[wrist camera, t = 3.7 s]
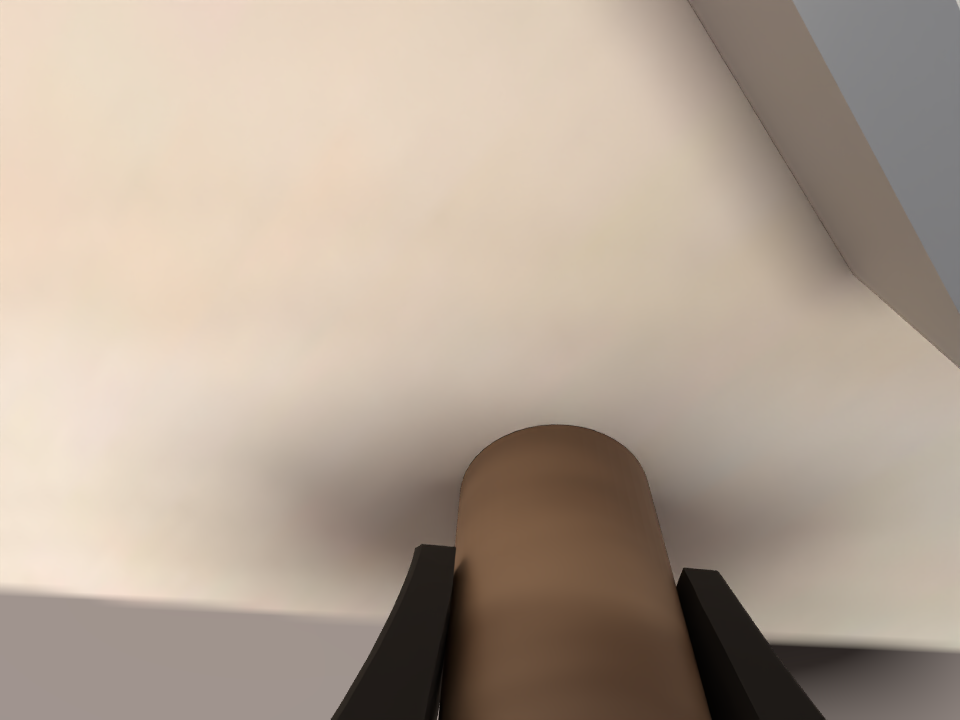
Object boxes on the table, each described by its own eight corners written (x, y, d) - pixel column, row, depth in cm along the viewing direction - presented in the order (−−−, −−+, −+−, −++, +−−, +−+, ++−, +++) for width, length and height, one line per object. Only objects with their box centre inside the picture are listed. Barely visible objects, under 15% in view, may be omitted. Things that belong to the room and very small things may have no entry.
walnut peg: (685, 511, 14) (861, 1052, 7) (536, 587, 15) (558, 1097, 8) (574, 391, 12) (656, 928, 5) (421, 488, 14) (332, 1009, 7)
